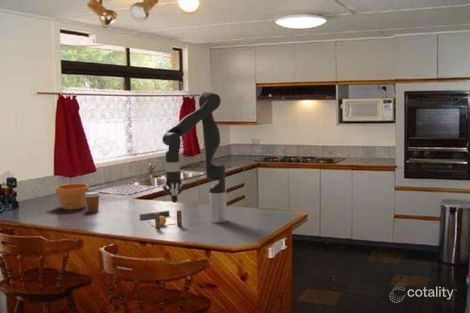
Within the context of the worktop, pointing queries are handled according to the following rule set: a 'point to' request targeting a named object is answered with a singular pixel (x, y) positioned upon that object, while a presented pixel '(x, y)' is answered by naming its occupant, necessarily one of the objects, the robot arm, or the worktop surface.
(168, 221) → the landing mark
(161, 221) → the ball
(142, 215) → the stopper wall
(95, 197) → the disposable coffee cup
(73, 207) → the flower pot
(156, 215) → the post
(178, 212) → the post
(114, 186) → the worktop surface
